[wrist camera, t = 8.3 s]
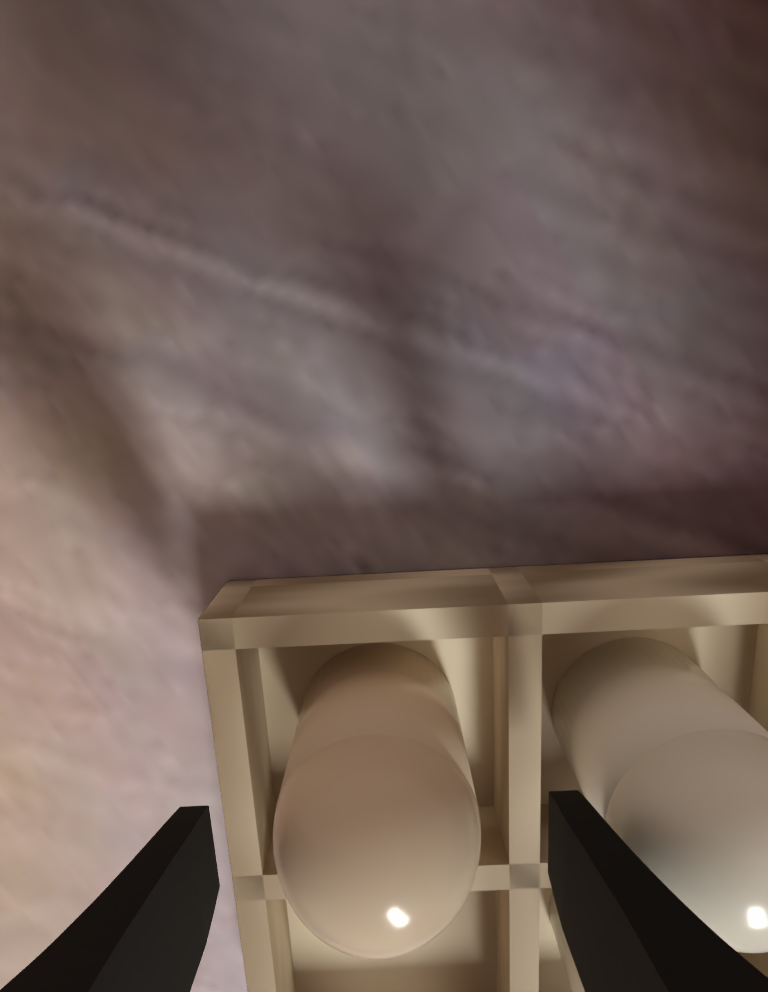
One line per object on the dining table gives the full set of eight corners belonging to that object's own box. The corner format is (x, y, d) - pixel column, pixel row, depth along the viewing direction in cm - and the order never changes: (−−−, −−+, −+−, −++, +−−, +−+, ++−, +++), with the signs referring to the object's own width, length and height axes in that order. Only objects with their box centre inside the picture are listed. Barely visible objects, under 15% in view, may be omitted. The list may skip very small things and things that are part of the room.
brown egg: (454, 639, 15) (500, 812, 9) (457, 777, 16) (501, 1017, 10) (296, 646, 15) (237, 823, 9) (308, 783, 16) (262, 1026, 10)
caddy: (781, 553, 15) (856, 587, 13) (734, 989, 18) (788, 1083, 16) (227, 580, 15) (197, 619, 13) (278, 1008, 19) (262, 1104, 16)
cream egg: (708, 630, 15) (922, 800, 9) (706, 768, 16) (897, 1007, 10) (548, 645, 15) (653, 823, 9) (554, 781, 16) (654, 1025, 10)
